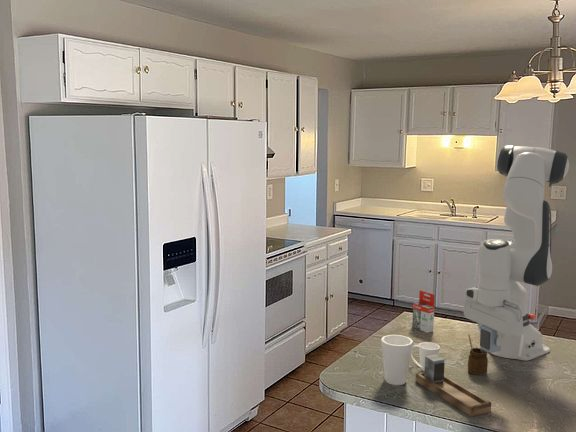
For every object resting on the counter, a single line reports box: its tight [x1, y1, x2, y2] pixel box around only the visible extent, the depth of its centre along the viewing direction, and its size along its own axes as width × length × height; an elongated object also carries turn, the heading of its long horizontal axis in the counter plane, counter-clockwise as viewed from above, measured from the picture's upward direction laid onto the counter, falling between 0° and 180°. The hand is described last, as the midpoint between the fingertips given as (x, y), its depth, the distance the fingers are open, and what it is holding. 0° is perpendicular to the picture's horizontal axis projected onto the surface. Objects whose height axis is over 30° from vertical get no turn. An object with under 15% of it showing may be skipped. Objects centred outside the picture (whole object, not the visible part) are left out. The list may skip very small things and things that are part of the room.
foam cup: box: [380, 334, 414, 386], centre depth 175 cm, size 10×9×13 cm
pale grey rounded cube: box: [479, 325, 501, 354], centre depth 166 cm, size 5×4×7 cm
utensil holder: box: [467, 334, 489, 376], centre depth 182 cm, size 6×6×12 cm
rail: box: [415, 354, 492, 417], centre depth 165 cm, size 24×7×8 cm, turn 25°
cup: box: [410, 341, 441, 372], centre depth 185 cm, size 7×10×8 cm
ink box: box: [411, 289, 436, 334], centre depth 221 cm, size 4×8×15 cm, turn 35°
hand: (491, 341), depth 166 cm, fingers closed on pale grey rounded cube, 4 cm apart
